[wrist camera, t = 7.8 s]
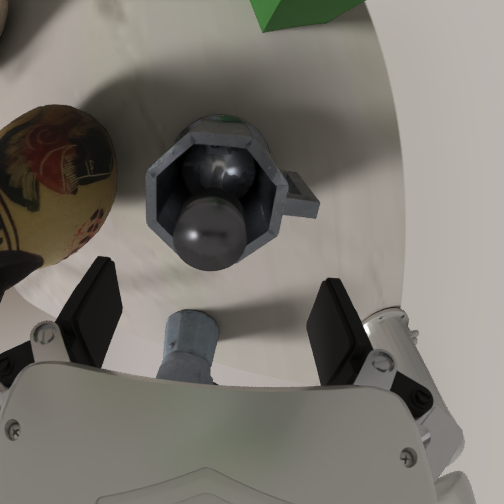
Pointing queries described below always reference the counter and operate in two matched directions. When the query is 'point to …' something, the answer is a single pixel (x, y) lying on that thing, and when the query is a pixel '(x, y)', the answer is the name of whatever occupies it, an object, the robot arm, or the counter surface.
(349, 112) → the counter surface
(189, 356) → the moka pot
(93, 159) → the ceramic jug
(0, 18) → the cooking pot
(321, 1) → the hardback book
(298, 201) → the carafe
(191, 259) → the dark grey stemmed piece
